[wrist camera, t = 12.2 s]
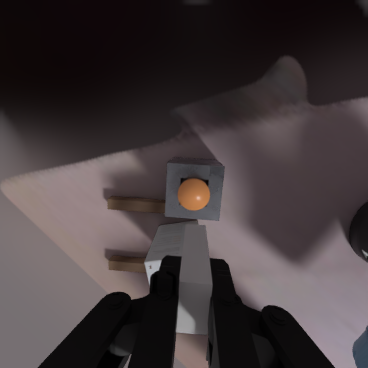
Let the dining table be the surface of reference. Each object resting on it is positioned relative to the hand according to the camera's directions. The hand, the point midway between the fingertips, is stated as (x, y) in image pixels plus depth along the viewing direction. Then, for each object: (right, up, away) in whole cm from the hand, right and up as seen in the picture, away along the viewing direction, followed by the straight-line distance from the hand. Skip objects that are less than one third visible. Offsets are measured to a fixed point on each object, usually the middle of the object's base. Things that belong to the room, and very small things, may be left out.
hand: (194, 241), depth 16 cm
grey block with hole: (+1, +5, +24) cm, 24 cm away
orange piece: (+1, +4, +19) cm, 20 cm away
